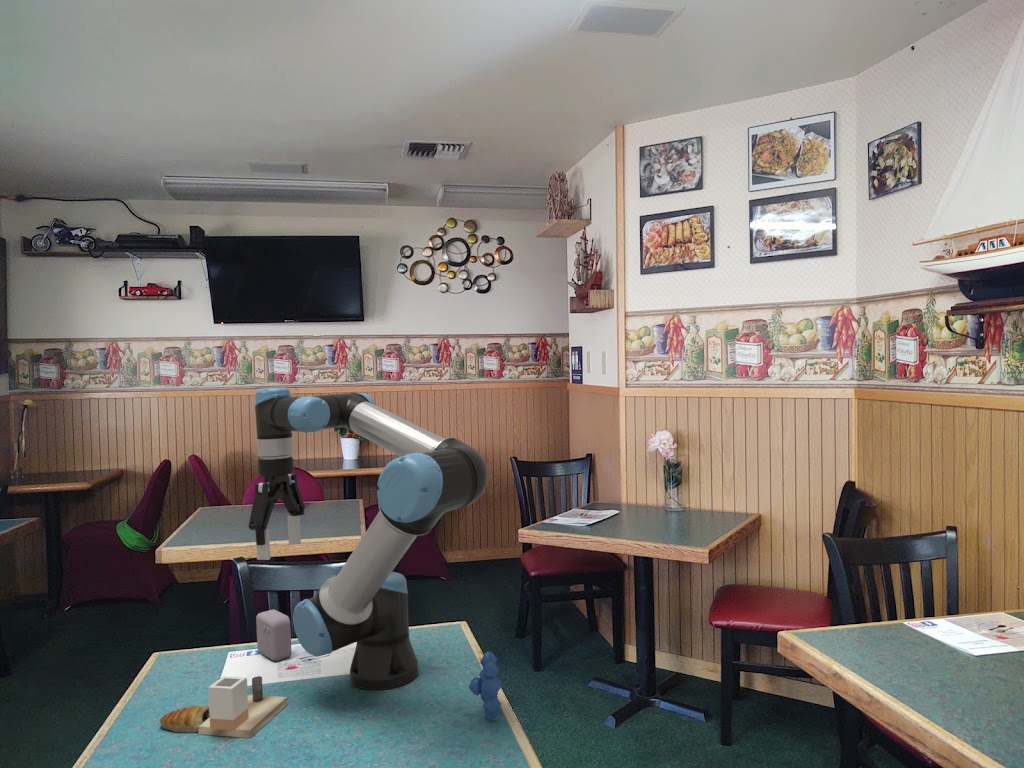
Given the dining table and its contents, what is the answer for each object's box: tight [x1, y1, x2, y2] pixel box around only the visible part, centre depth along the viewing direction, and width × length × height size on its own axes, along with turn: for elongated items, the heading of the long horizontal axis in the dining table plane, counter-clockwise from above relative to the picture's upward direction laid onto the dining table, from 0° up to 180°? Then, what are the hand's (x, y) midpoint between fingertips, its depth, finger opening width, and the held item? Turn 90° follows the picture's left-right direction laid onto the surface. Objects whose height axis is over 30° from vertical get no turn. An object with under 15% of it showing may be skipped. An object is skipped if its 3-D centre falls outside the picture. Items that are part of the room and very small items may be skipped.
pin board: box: [197, 675, 288, 739], centre depth 148 cm, size 11×14×6 cm
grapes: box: [468, 650, 503, 722], centre depth 146 cm, size 12×7×12 cm, turn 6°
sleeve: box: [207, 675, 249, 730], centre depth 143 cm, size 5×5×8 cm
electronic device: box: [255, 608, 292, 662], centre depth 181 cm, size 10×5×10 cm, turn 43°
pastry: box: [159, 704, 210, 734], centre depth 146 cm, size 9×7×4 cm
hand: (279, 551), depth 166 cm, fingers open, 13 cm apart
